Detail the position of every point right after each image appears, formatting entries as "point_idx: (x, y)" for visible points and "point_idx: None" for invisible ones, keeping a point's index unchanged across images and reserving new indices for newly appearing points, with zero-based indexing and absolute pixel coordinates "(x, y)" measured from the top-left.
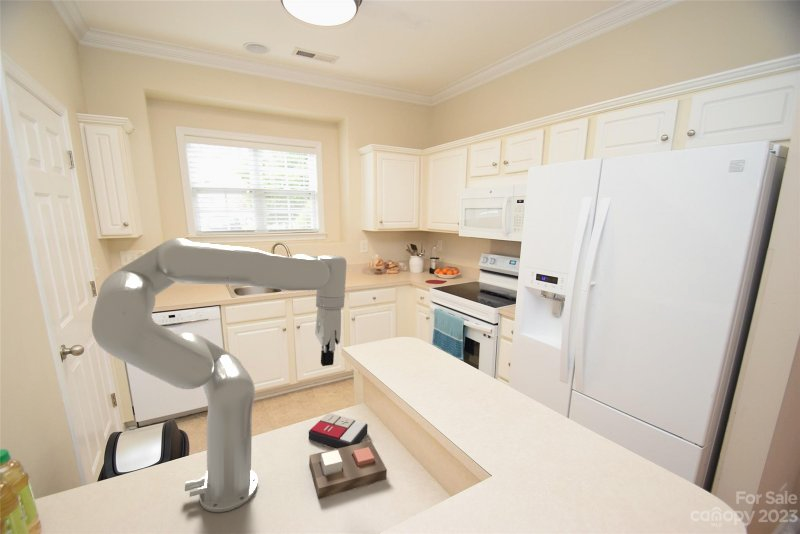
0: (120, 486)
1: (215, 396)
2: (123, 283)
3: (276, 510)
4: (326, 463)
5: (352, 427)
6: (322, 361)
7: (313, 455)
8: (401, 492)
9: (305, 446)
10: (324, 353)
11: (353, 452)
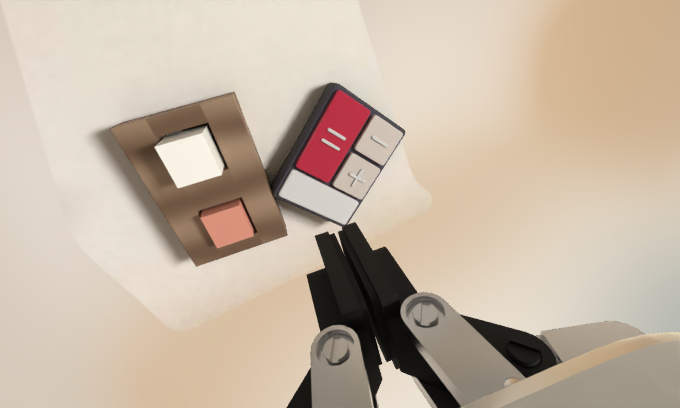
0: None
1: None
2: None
3: (63, 17)
4: (163, 150)
5: (333, 196)
6: (322, 256)
7: (232, 106)
8: (169, 277)
9: (302, 76)
10: (341, 319)
11: (238, 204)
